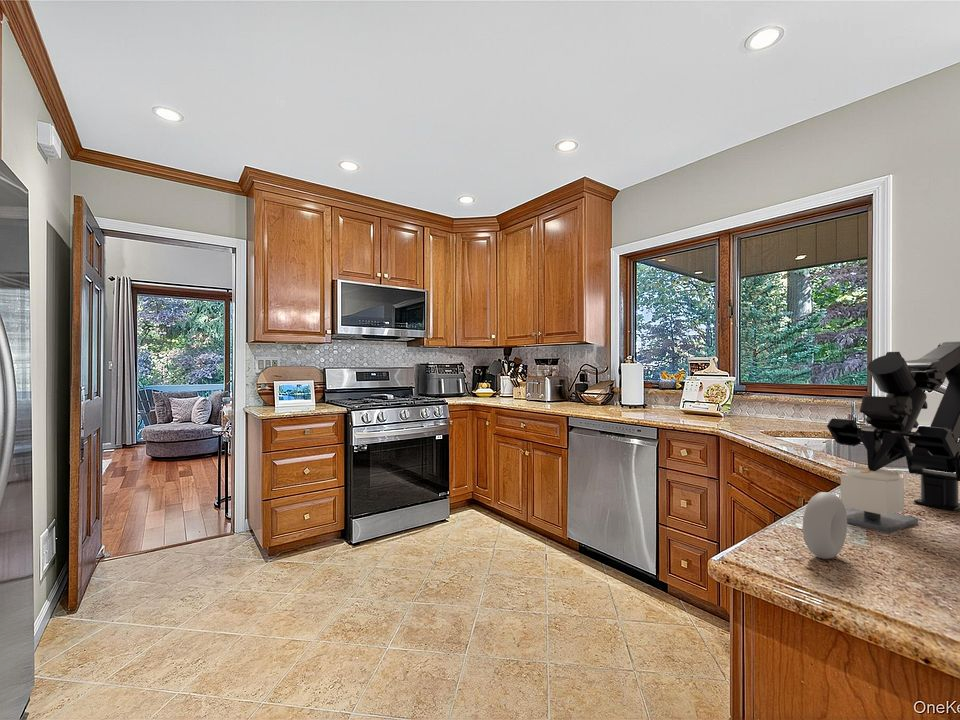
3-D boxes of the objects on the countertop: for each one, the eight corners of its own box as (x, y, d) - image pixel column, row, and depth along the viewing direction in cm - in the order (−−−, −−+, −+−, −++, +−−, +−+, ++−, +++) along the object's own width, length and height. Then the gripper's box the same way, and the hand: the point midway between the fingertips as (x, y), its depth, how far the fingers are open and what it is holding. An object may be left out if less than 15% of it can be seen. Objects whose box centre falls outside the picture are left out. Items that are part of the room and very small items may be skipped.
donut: (826, 569, 65) (825, 499, 66) (798, 561, 68) (798, 494, 68) (851, 554, 71) (850, 490, 71) (825, 547, 74) (824, 485, 74)
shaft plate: (857, 509, 94) (857, 477, 94) (917, 523, 86) (917, 488, 86) (826, 517, 89) (826, 483, 89) (887, 533, 80) (887, 495, 80)
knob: (858, 500, 92) (857, 464, 92) (907, 510, 85) (906, 472, 85) (838, 505, 88) (838, 467, 88) (887, 516, 81) (887, 476, 82)
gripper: (831, 380, 98) (801, 434, 93) (949, 383, 81) (920, 449, 76) (851, 415, 101) (823, 470, 96) (969, 425, 84) (942, 491, 79)
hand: (871, 469), depth 87 cm, fingers closed, pressing on knob
